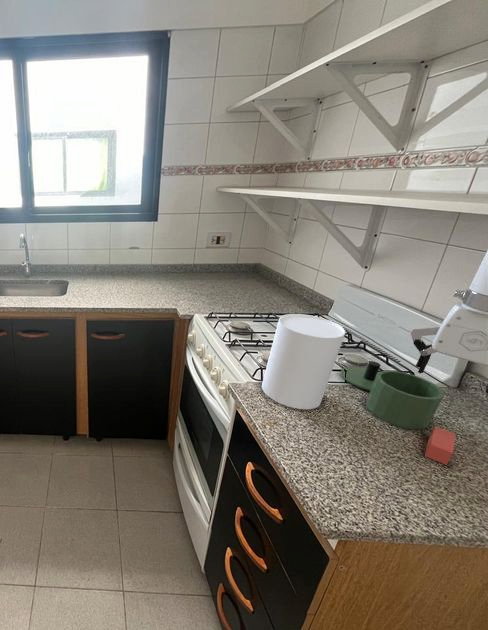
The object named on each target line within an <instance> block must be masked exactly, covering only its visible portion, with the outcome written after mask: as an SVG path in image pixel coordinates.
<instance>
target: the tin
mask: <svg viewBox="0 0 488 630" xmlns="http://www.w3.org/2000/svg"><path fill="white" fill-rule="evenodd" d="M378 372H379V373H378V374H377V376H376V379H375V381H374V384H373V386H372V388H371V391H369V393H368V396H367V398H366V401H365V406H366V408H367V410H368V411H369V412H370V413H372V414H373V415H374V416H376V417H377V418H378V419H381V420H383V421H384V422H387V423H389V424H392V425H394V426H396V427H400V428H403V429H409V430H423V429H426V428H428V427H429V425H430V423H431V421H432V420H433V418H434V416H435V413H436V412H437V410H438V408H439V407H440V404H441V403H442V400H443V399H444V396H445V393H444V391H443V389H442V388H440V387H439V386H438V385H436V384H435V383H434V382H432V381H429V380H428V379H426V378H423V377H421V376H417V375H415V374H412V373H409V372H405V371H404V372H403V371H398V370H388V369H387V370H382V371H378Z"/></svg>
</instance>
